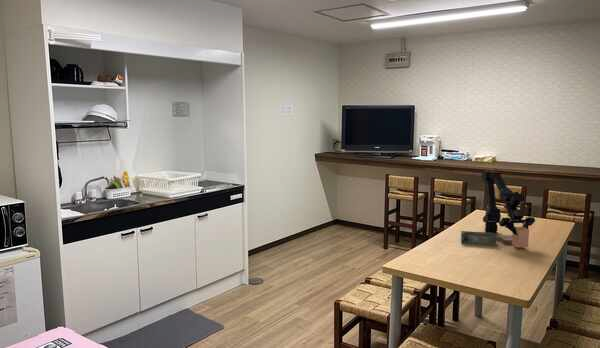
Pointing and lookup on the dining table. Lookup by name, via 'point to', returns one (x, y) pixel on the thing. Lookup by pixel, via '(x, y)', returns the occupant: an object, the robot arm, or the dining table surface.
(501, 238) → the walnut block
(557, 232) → the dining table surface
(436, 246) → the dining table surface
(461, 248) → the dining table surface
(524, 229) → the reddish brown block
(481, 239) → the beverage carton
